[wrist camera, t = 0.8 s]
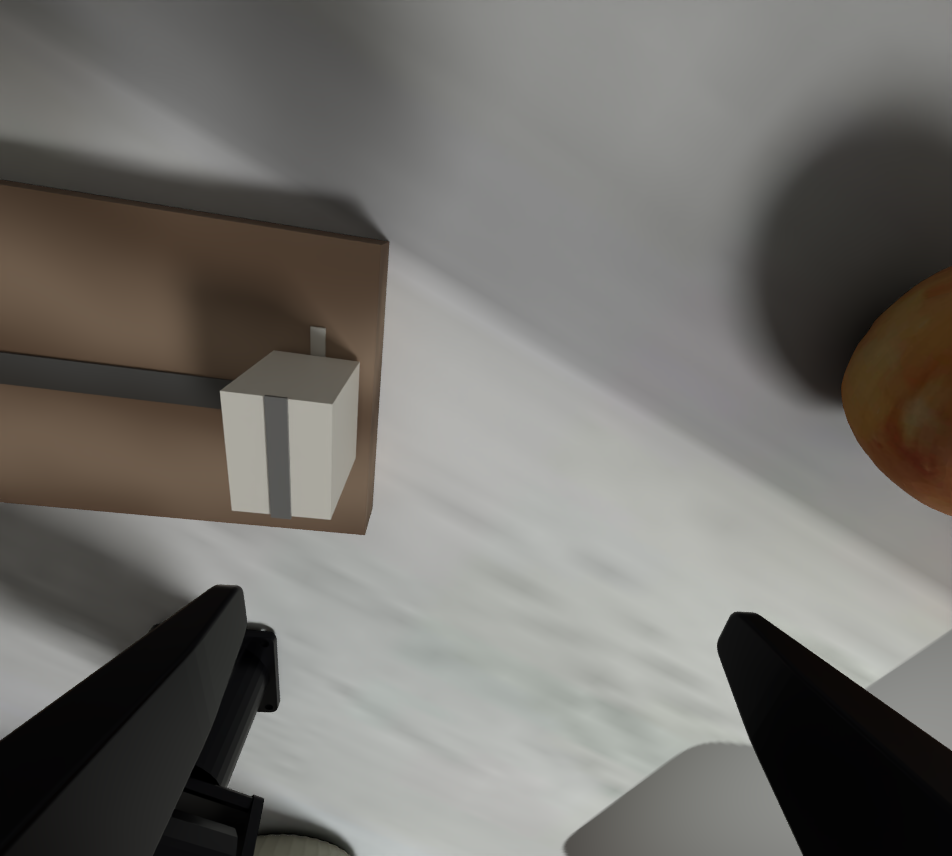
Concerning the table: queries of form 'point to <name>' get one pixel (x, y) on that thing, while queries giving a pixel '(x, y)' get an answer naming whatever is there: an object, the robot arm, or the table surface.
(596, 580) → the table surface
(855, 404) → the onion
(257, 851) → the canister
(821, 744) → the robot arm
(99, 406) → the board
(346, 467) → the fader tab
